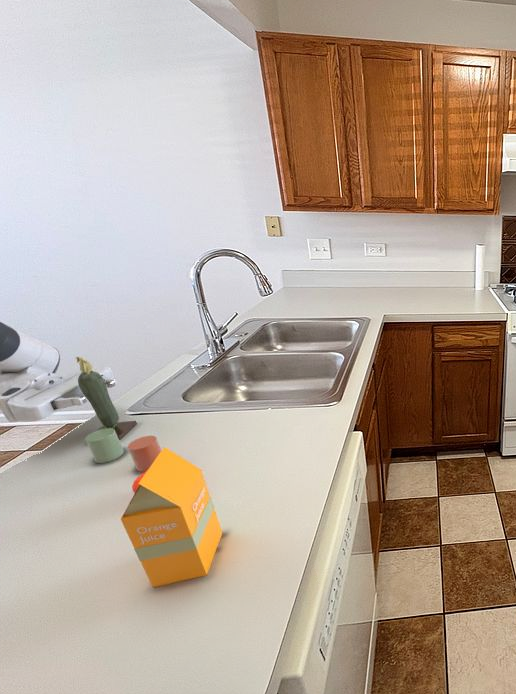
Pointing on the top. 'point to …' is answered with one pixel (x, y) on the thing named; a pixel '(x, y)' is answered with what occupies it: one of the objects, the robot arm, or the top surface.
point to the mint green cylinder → (104, 445)
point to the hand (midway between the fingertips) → (99, 391)
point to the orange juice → (172, 521)
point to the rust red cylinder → (144, 452)
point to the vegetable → (97, 394)
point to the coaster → (122, 428)
